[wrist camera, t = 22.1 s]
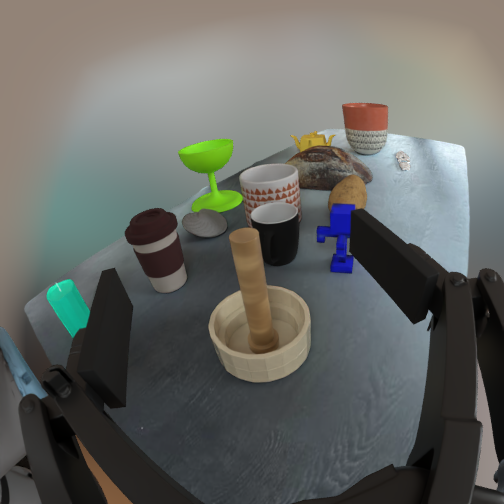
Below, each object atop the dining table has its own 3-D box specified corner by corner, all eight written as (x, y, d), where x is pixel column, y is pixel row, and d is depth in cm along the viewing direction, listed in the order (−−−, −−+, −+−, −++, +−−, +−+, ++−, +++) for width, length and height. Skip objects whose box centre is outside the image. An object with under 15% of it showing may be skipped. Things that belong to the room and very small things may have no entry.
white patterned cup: (244, 214, 80) (236, 169, 73) (293, 204, 80) (289, 160, 74) (251, 238, 68) (242, 186, 61) (308, 227, 69) (305, 175, 62)
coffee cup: (167, 305, 52) (139, 234, 44) (139, 288, 58) (112, 224, 50) (203, 275, 59) (184, 207, 51) (173, 263, 64) (153, 201, 56)
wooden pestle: (259, 360, 39) (235, 250, 29) (243, 341, 42) (216, 235, 33) (285, 345, 41) (272, 234, 31) (268, 327, 44) (250, 221, 34)
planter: (343, 158, 112) (340, 107, 101) (347, 147, 127) (344, 102, 115) (390, 160, 105) (389, 108, 93) (387, 149, 119) (386, 104, 108)
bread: (295, 162, 114) (292, 138, 109) (376, 167, 99) (376, 141, 94) (266, 186, 95) (262, 157, 89) (367, 194, 80) (367, 161, 74)
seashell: (178, 234, 75) (193, 243, 67) (175, 213, 74) (189, 219, 66) (218, 224, 81) (236, 231, 73) (215, 204, 79) (234, 209, 71)
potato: (320, 227, 68) (318, 190, 63) (342, 202, 78) (341, 169, 73) (355, 234, 63) (356, 196, 58) (372, 207, 73) (372, 173, 68)
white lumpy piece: (398, 169, 95) (398, 167, 94) (394, 151, 116) (394, 149, 115) (413, 171, 92) (413, 169, 92) (407, 152, 113) (407, 150, 113)
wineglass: (192, 219, 82) (177, 158, 73) (190, 199, 96) (178, 147, 86) (247, 206, 84) (237, 144, 74) (237, 188, 97) (228, 136, 88)
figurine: (369, 268, 53) (374, 210, 46) (338, 284, 51) (340, 223, 44) (344, 250, 59) (345, 196, 52) (314, 263, 57) (312, 207, 50)
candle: (68, 341, 47) (36, 293, 40) (81, 319, 51) (54, 272, 45) (90, 344, 46) (57, 293, 39) (103, 321, 50) (75, 271, 44)
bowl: (249, 401, 34) (240, 377, 31) (204, 340, 44) (193, 313, 41) (329, 349, 39) (331, 320, 36) (275, 302, 49) (271, 273, 46)
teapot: (337, 154, 118) (336, 132, 113) (311, 160, 114) (309, 137, 109) (316, 148, 130) (315, 128, 124) (291, 154, 125) (289, 133, 120)
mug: (264, 244, 65) (257, 202, 60) (304, 246, 62) (301, 202, 57) (247, 278, 56) (237, 231, 51) (294, 282, 53) (289, 233, 48)
